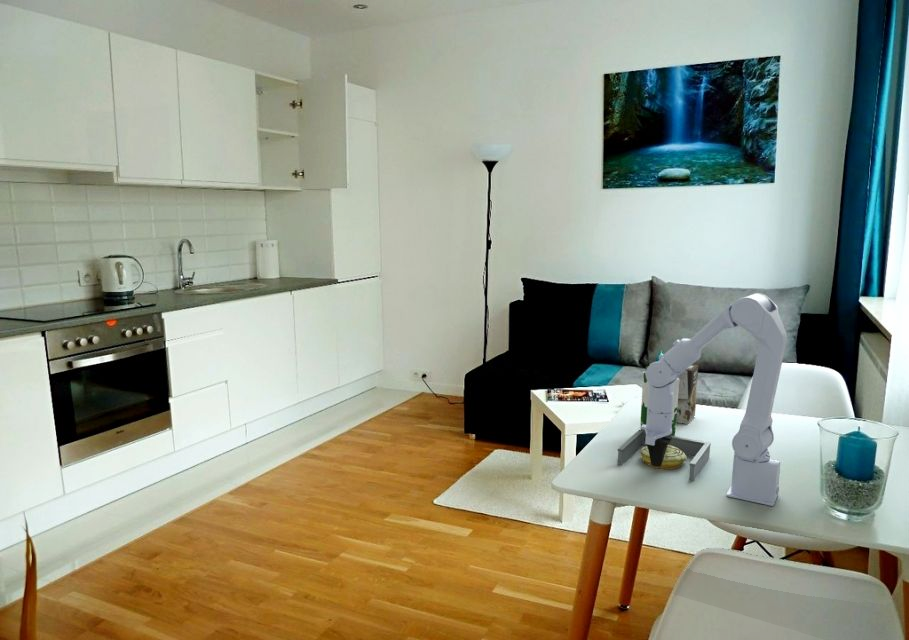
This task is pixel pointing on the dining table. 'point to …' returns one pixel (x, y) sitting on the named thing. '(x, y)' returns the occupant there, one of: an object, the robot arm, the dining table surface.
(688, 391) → the coffee box
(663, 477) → the dining table surface
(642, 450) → the decorated donut
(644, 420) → the milk carton
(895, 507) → the dining table surface
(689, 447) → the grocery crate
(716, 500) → the dining table surface
